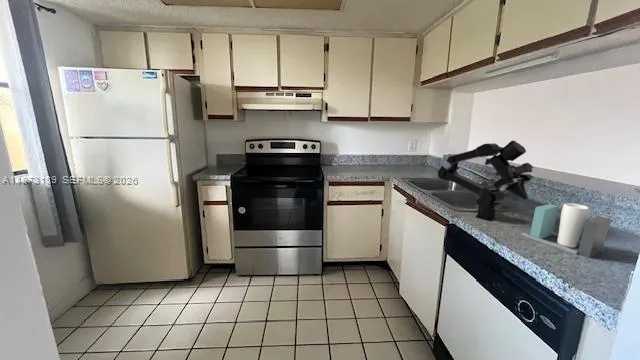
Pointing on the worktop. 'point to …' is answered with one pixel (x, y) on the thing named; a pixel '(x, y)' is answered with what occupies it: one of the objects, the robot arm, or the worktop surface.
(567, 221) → the drinking glass
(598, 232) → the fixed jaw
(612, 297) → the worktop surface
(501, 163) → the robot arm
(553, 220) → the block
